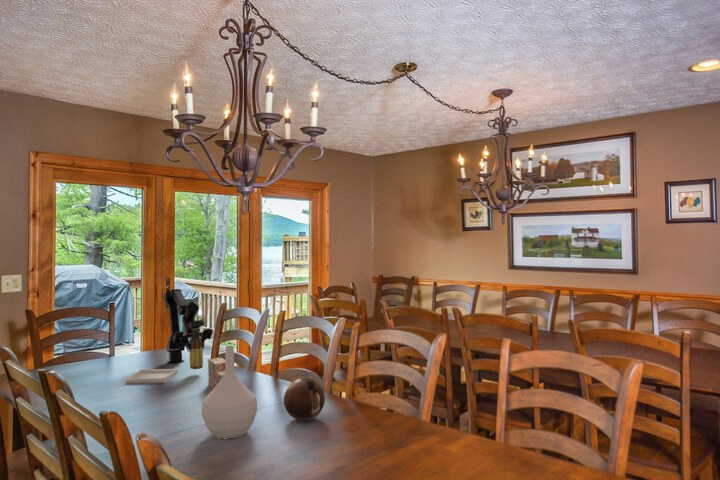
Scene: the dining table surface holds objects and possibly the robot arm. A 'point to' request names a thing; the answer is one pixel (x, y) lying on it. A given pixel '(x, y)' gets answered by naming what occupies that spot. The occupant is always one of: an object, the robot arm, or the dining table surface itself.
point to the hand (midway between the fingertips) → (196, 349)
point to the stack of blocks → (215, 371)
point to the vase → (229, 404)
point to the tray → (151, 376)
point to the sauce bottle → (196, 350)
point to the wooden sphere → (304, 399)
